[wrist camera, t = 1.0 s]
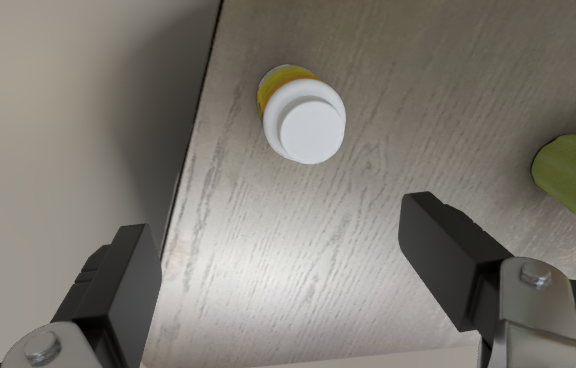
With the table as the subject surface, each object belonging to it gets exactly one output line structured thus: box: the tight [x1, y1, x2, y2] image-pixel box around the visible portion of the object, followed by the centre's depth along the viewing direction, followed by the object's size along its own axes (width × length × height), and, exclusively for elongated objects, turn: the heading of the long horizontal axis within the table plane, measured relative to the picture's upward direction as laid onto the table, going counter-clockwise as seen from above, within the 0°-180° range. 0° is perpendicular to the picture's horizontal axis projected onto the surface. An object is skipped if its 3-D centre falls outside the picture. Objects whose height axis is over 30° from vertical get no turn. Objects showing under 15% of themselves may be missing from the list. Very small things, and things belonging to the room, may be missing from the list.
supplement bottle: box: [256, 64, 346, 164], centre depth 25 cm, size 6×6×10 cm
